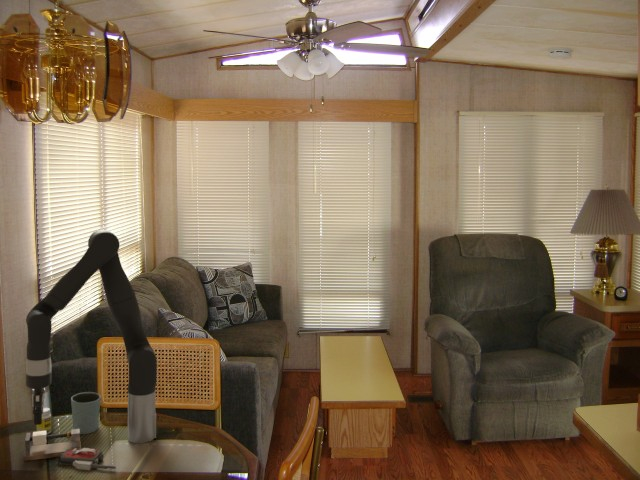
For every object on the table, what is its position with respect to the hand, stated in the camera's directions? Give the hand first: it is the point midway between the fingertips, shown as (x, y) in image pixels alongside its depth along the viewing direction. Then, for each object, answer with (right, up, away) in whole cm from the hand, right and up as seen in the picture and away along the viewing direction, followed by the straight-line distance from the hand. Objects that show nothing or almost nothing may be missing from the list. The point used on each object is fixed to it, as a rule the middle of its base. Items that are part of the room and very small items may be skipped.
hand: (38, 419), depth 204 cm
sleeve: (0, -8, +1) cm, 8 cm away
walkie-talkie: (+18, -14, -3) cm, 23 cm away
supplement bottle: (-6, -10, +17) cm, 21 cm away
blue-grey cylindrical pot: (+7, -10, +22) cm, 25 cm away
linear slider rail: (+3, -12, +3) cm, 13 cm away
